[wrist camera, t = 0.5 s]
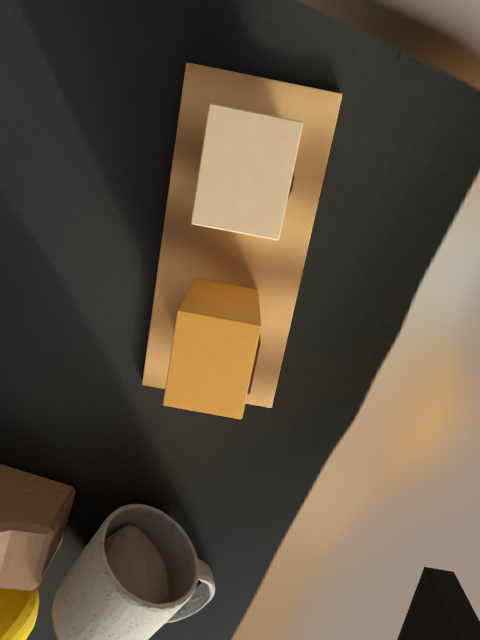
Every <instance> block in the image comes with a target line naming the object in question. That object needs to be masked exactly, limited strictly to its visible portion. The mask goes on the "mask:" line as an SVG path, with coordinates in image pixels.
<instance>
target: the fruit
mask: <svg viewBox="0 0 480 640" xmlns="http://www.w3.org/2000/svg"><path fill="white" fill-rule="evenodd" d="M38 607H39V595H38V591H37V588H35V589H33V590H31V591H27V590H18V589H8V588H0V640H26V639H27V637H28V635H29V634H30V632H31V631H32V629H33V627H34V624H35V621H36V617H37V612H38Z"/></svg>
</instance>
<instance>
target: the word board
mask: <svg viewBox="0 0 480 640" xmlns="http://www.w3.org/2000/svg"><path fill="white" fill-rule="evenodd" d="M341 99H342V93H337V92H332V91H327V90H322V89H317V88H312V87H307V86H302V85H297V84H292V83H287V82H282V81H277V80H272V79H267V78H262V77H257V76H252V75H247V74H242V73H237V72H232V71H228V70H223V69H218V68H213V67H208V66H203V65H198V64H193V63H188V62H187V63H186V68H185V75H184V82H183V90H182V97H181V104H180V111H179V119H178V126H177V133H176V140H175V148H174V155H173V162H172V170H171V177H170V184H169V191H168V199H167V206H166V213H165V221H164V228H163V235H162V242H161V250H160V257H159V264H158V271H157V279H156V286H155V293H154V301H153V308H152V315H151V322H150V330H149V337H148V344H147V351H146V359H145V366H144V373H143V381H142V385H146V386H151V387H157V388H163V389H165V388H166V381H167V375H168V368H169V362H170V355H171V349H172V342H173V336H174V329H175V323H176V316H177V310H178V309H179V307H180V305H181V304H182V302H183V300H184V299H185V297H186V295H187V294H188V292H189V290H190V288H191V287H192V285H193V283H194V282H195V280H196V278H199V279H205V280H210V281H215V282H221V283H226V284H231V285H237V286H242V287H247V288H253V289H258V293H259V305H260V317H261V330H260V341H261V344H260V349H259V354H258V359H257V363H256V368H255V373H254V378H253V382H252V387H251V392H250V394H247V397H246V402H245V403H246V404H252V405H258V406H263V407H269V408H272V404H273V400H274V395H275V391H276V386H277V382H278V377H279V373H280V369H281V364H282V360H283V355H284V351H285V347H286V342H287V338H288V333H289V329H290V324H291V320H292V316H293V311H294V307H295V302H296V298H297V294H298V289H299V285H300V280H301V276H302V271H303V267H304V263H305V258H306V254H307V249H308V245H309V241H310V236H311V232H312V227H313V223H314V218H315V214H316V210H317V205H318V201H319V196H320V192H321V188H322V183H323V179H324V174H325V170H326V165H327V161H328V157H329V152H330V148H331V143H332V139H333V135H334V130H335V126H336V121H337V117H338V112H339V108H340V104H341ZM210 103H212V104H217V105H222V106H227V107H232V108H237V109H242V110H247V111H252V112H257V113H262V114H267V115H272V116H277V117H282V118H287V119H292V120H297V121H302V122H303V128H302V133H301V137H300V142H299V147H298V152H297V157H296V162H295V166H294V175H295V179H294V183H293V189H292V192H291V194H290V196H289V198H288V200H287V205H286V210H285V214H284V219H283V224H282V229H281V234H280V238H279V240H273V239H267V238H262V237H257V236H252V235H246V234H241V233H236V232H231V231H225V230H220V229H215V228H210V227H204V226H199V225H194V224H191V218H192V212H193V205H194V199H195V192H196V186H197V179H198V173H199V166H200V160H201V153H202V147H203V140H204V134H205V127H206V121H207V114H208V108H209V104H210Z"/></svg>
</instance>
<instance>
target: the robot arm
mask: <svg viewBox="0 0 480 640" xmlns="http://www.w3.org/2000/svg"><path fill="white" fill-rule="evenodd" d="M398 640H480V621H479V619H478V618H477V616H476V614H475V612H474V610H473V608H472V606H471V604H470V602H469V600H468V599H467V597H466V595H465V593H464V591H463V589H462V587H461V585H460V583H459V581H458V579H457V577H456V576H455V574H454V572H451V571H445V570H439V569H433V568H427V567H424V570H423V572H422V575H421V578H420V581H419V583H418V586H417V588H416V591H415V594H414V597H413V599H412V602H411V605H410V607H409V610H408V613H407V616H406V618H405V621H404V624H403V626H402V629H401V632H400V634H399V637H398Z"/></svg>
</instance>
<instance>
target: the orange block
mask: <svg viewBox="0 0 480 640" xmlns="http://www.w3.org/2000/svg"><path fill="white" fill-rule="evenodd" d="M260 330H261V317H260V305H259V293H258V289H253V288H247V287H242V286H237V285H231V284H226V283H221V282H215V281H210V280H205V279H199V278H196V280H195V282H194V283H193V285H192V287H191V288H190V290H189V292H188V294H187V295H186V297H185V299H184V300H183V302H182V304H181V305H180V307H179V309H178V310H177V316H176V323H175V329H174V336H173V342H172V349H171V355H170V362H169V368H168V375H167V381H166V388H165V394H164V401H163V405H164V406H170V407H175V408H181V409H187V410H192V411H198V412H204V413H209V414H215V415H220V416H226V417H232V418H237V419H242V416H243V412H244V407H245V402H246V397H247V394H250V392H251V387H252V382H253V378H254V373H255V368H256V363H257V359H258V354H259V349H260V344H261V341H260Z"/></svg>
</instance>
